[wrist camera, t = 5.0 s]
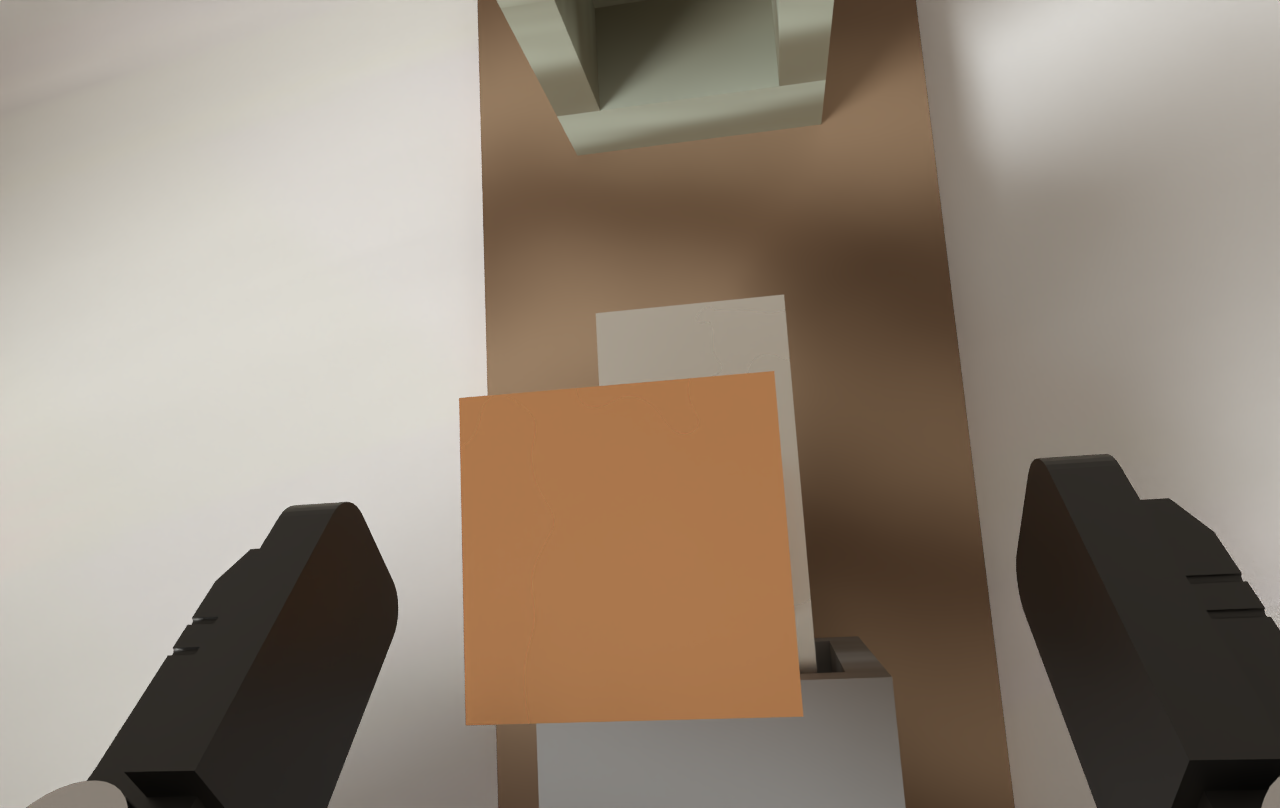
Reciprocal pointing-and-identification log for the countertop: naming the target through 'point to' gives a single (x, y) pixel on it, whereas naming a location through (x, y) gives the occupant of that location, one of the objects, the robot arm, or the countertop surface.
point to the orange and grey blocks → (641, 529)
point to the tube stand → (818, 350)
